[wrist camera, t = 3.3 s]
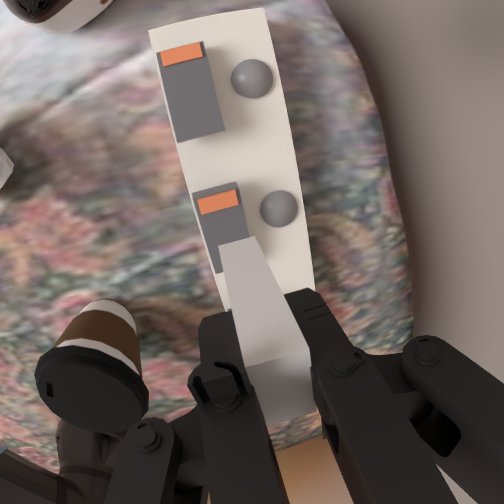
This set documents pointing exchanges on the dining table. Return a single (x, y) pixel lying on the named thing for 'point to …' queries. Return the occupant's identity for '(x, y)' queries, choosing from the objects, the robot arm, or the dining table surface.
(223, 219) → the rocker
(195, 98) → the grey flat rectangular block
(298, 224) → the power strip
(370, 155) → the dining table surface
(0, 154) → the figurine
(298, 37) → the dining table surface
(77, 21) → the spread jar
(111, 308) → the coffee cup
